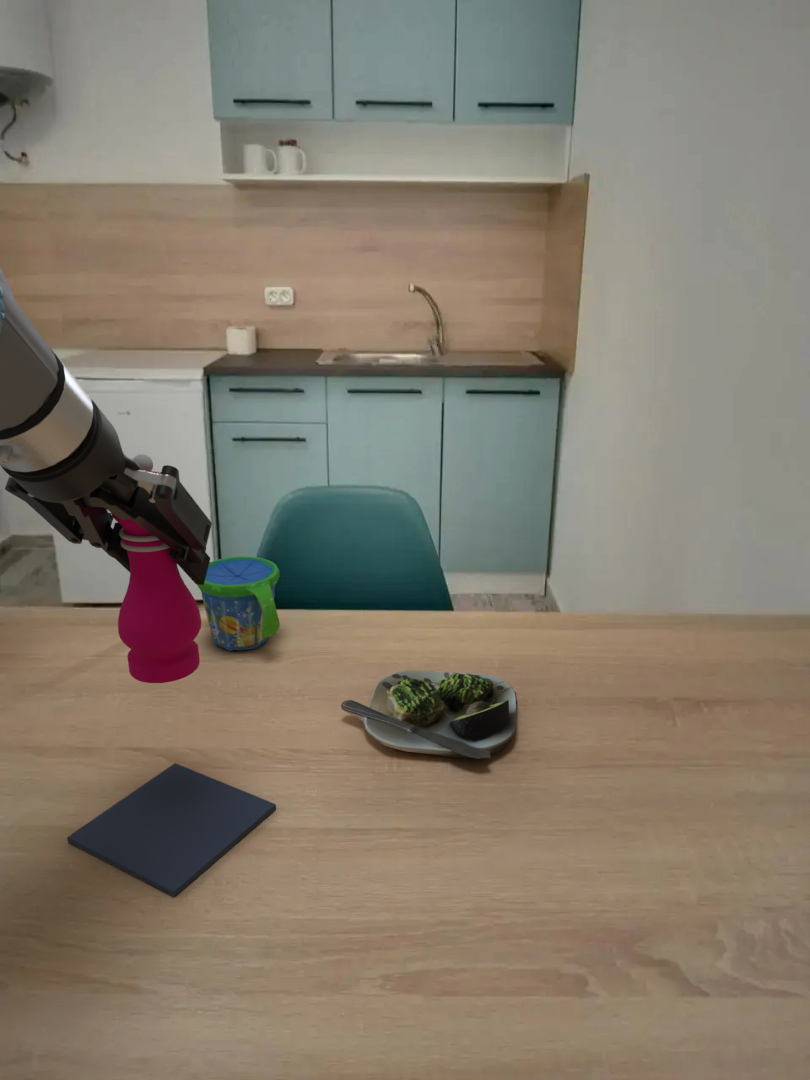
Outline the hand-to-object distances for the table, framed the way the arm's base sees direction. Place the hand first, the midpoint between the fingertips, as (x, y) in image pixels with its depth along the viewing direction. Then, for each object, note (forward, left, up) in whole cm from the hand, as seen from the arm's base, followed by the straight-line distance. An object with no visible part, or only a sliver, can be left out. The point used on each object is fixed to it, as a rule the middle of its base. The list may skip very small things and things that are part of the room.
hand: (174, 569), depth 77 cm
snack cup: (-15, +24, -22) cm, 36 cm away
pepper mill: (+1, -3, -8) cm, 9 cm away
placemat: (+5, -8, -22) cm, 23 cm away
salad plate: (+18, +20, -22) cm, 35 cm away
